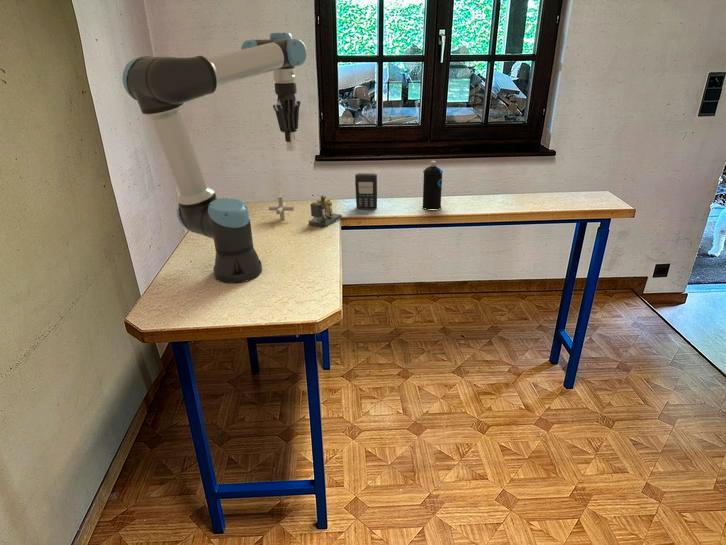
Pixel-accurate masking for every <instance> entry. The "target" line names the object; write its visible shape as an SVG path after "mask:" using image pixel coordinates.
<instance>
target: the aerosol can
mask: <svg viewBox="0 0 726 545" xmlns="http://www.w3.org/2000/svg"><path fill="white" fill-rule="evenodd" d="M436 163H437V161H436V160H431V161H430V166H428V167H426V168H425V169H423V186H422V188H423V190H422V191H423V192H422V206H421V207H423V208H426V209H439V208H440V209H442V206H441V204H442V189H443V188H442V187H443V173H444V171H443V170H442V168H441V167H439V166H437V165H436ZM423 208H422V209H423ZM440 209H439V210H440Z"/></svg>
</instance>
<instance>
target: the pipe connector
mask: <svg viewBox="0 0 726 545" xmlns="http://www.w3.org/2000/svg"><path fill="white" fill-rule="evenodd" d="M277 200H278V205H269V206H268V211H274V212H275V213H276V215H279V219H280V220H279V221H280V222H281V221H285V220H286V218H285V211H288V212H290V211H295V207H294V205H293V206H292V205H289V206H288V205H287V202H284V198H283V196H282V195H279V196H277Z"/></svg>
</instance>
